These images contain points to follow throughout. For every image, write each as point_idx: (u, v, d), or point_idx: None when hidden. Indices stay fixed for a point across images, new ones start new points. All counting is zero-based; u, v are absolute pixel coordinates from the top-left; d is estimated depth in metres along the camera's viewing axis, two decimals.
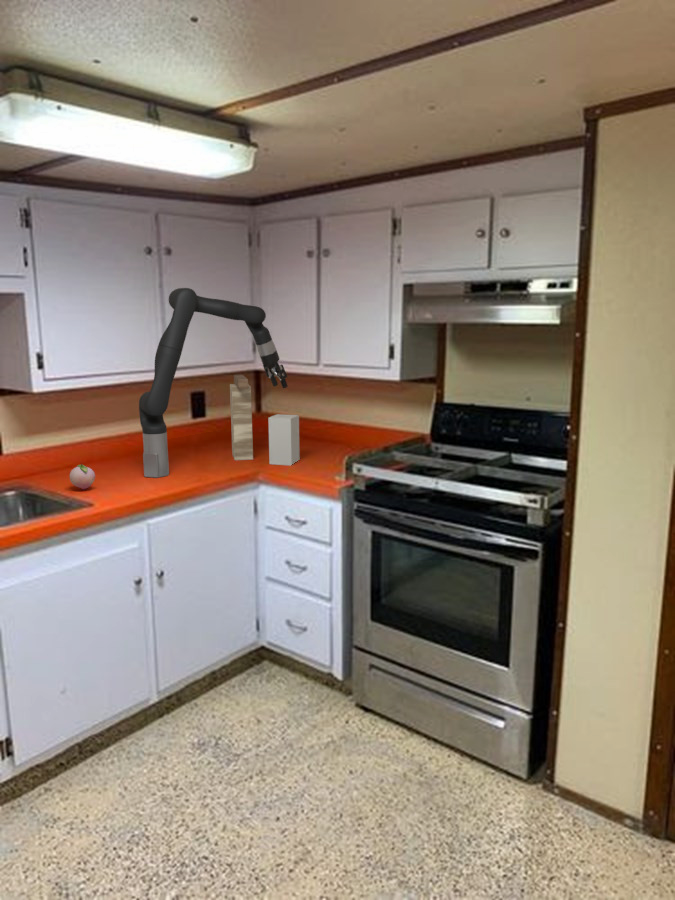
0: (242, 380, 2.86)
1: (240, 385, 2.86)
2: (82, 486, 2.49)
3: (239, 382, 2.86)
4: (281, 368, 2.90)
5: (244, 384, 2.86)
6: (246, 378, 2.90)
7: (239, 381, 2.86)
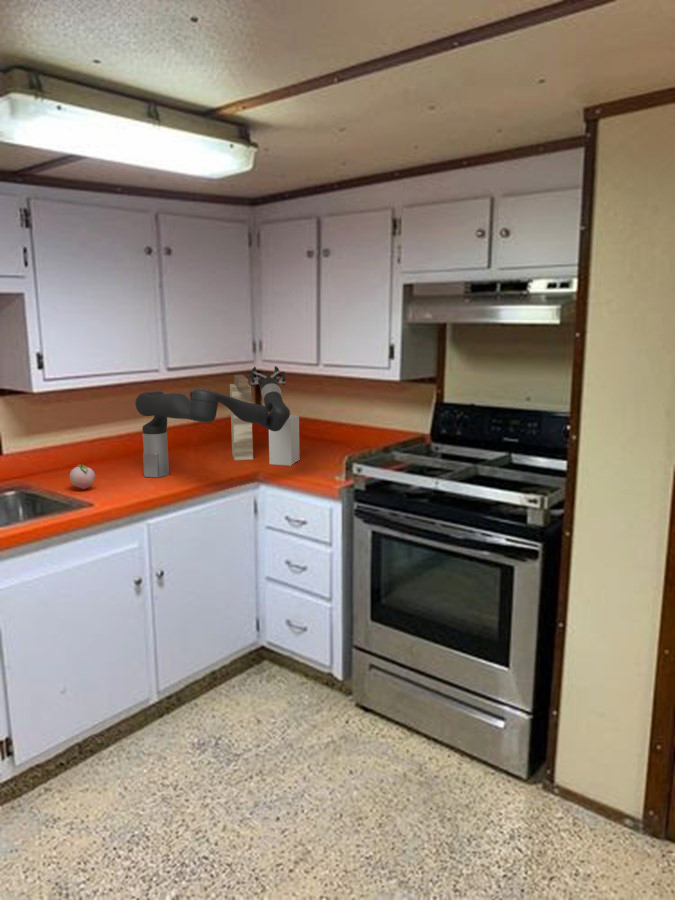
0: (242, 380, 2.86)
1: (240, 385, 2.86)
2: (82, 486, 2.49)
3: (239, 382, 2.86)
4: None
5: (244, 384, 2.86)
6: (246, 378, 2.90)
7: (239, 381, 2.86)
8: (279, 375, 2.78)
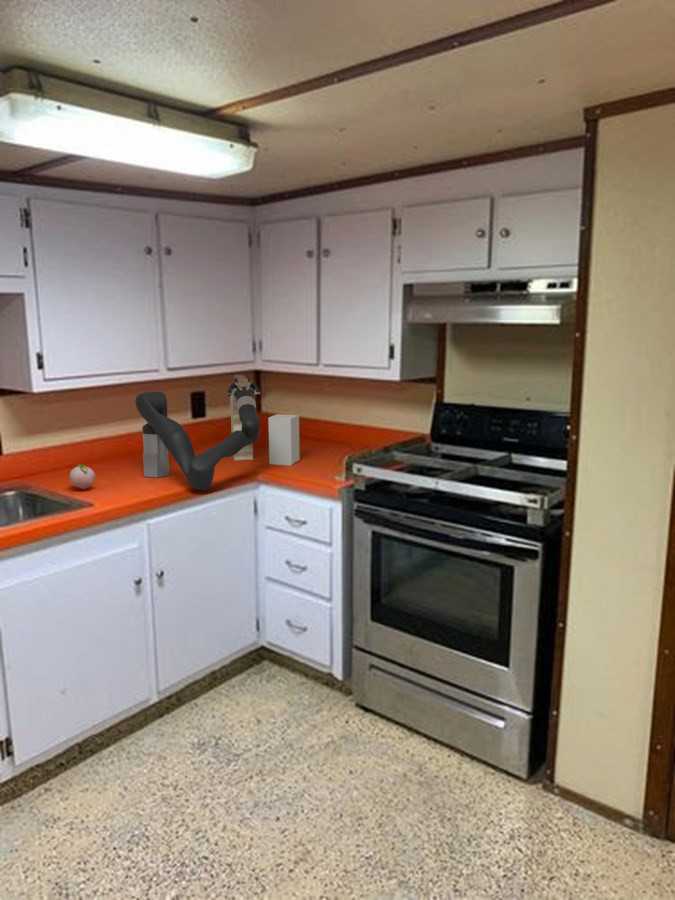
0: (242, 380, 2.86)
1: (240, 385, 2.86)
2: (82, 486, 2.49)
3: (239, 382, 2.86)
4: None
5: (244, 384, 2.86)
6: (246, 378, 2.90)
7: (239, 381, 2.86)
8: (251, 386, 2.89)
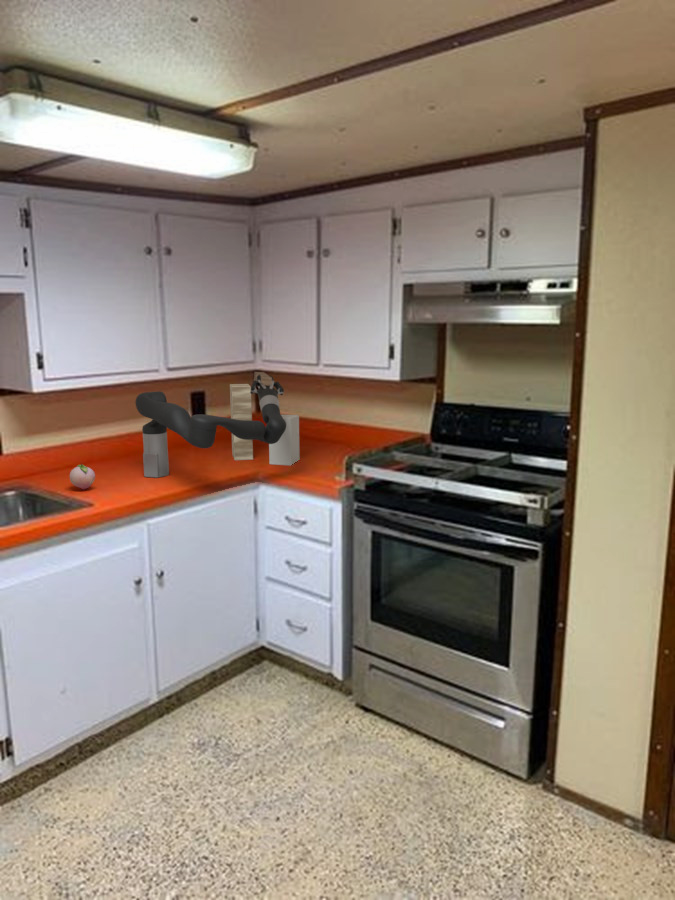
0: (266, 378, 2.77)
1: (263, 383, 2.77)
2: (82, 486, 2.49)
3: (263, 380, 2.76)
4: None
5: (267, 382, 2.77)
6: (269, 376, 2.81)
7: (263, 379, 2.76)
8: (274, 384, 2.80)
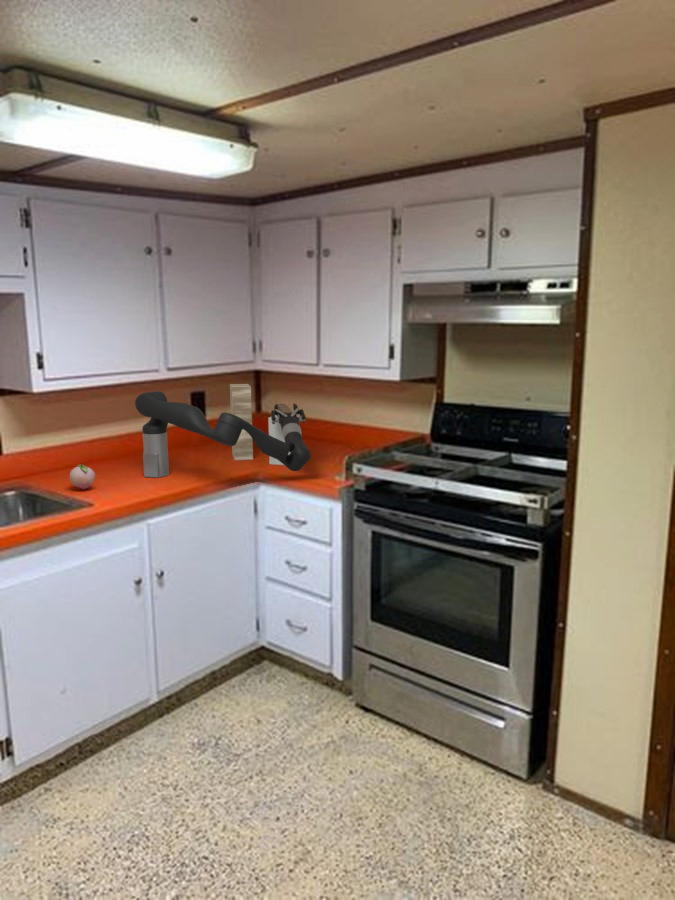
0: (286, 411, 2.81)
1: None
2: (82, 486, 2.49)
3: None
4: None
5: None
6: (290, 409, 2.85)
7: (283, 412, 2.81)
8: (298, 412, 2.84)
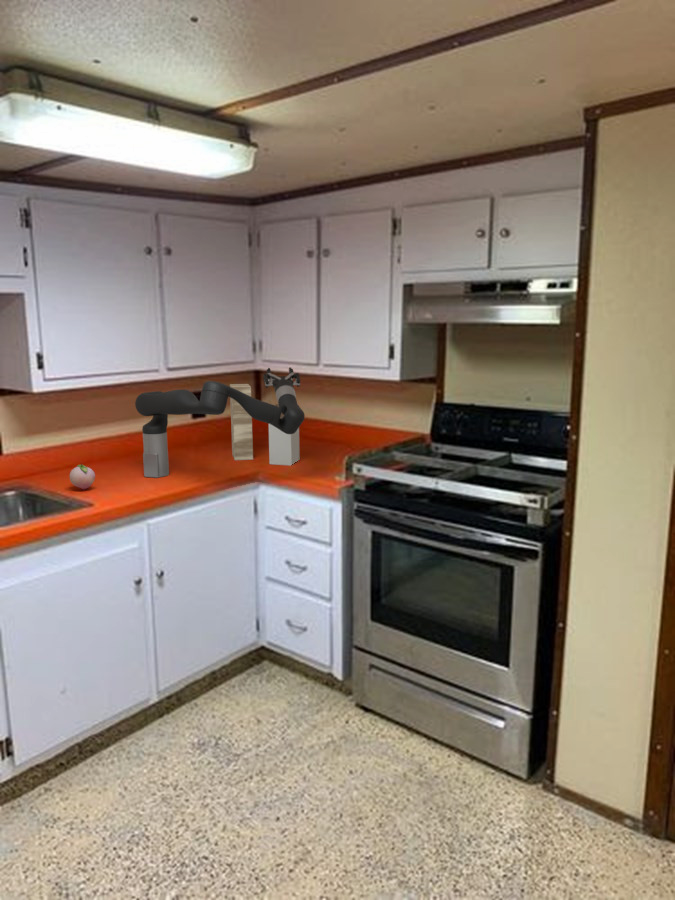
0: None
1: None
2: (82, 486, 2.49)
3: None
4: None
5: None
6: None
7: None
8: (293, 376, 2.75)
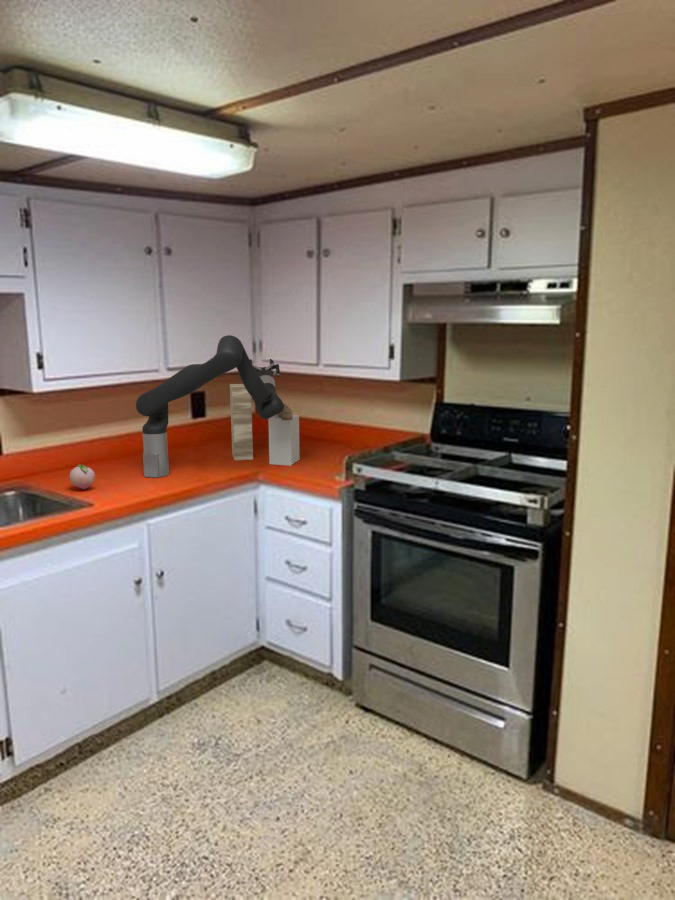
0: (286, 411, 2.81)
1: (284, 416, 2.81)
2: (82, 486, 2.49)
3: (283, 413, 2.81)
4: None
5: (288, 415, 2.81)
6: (290, 409, 2.85)
7: (283, 412, 2.81)
8: (274, 367, 2.92)
